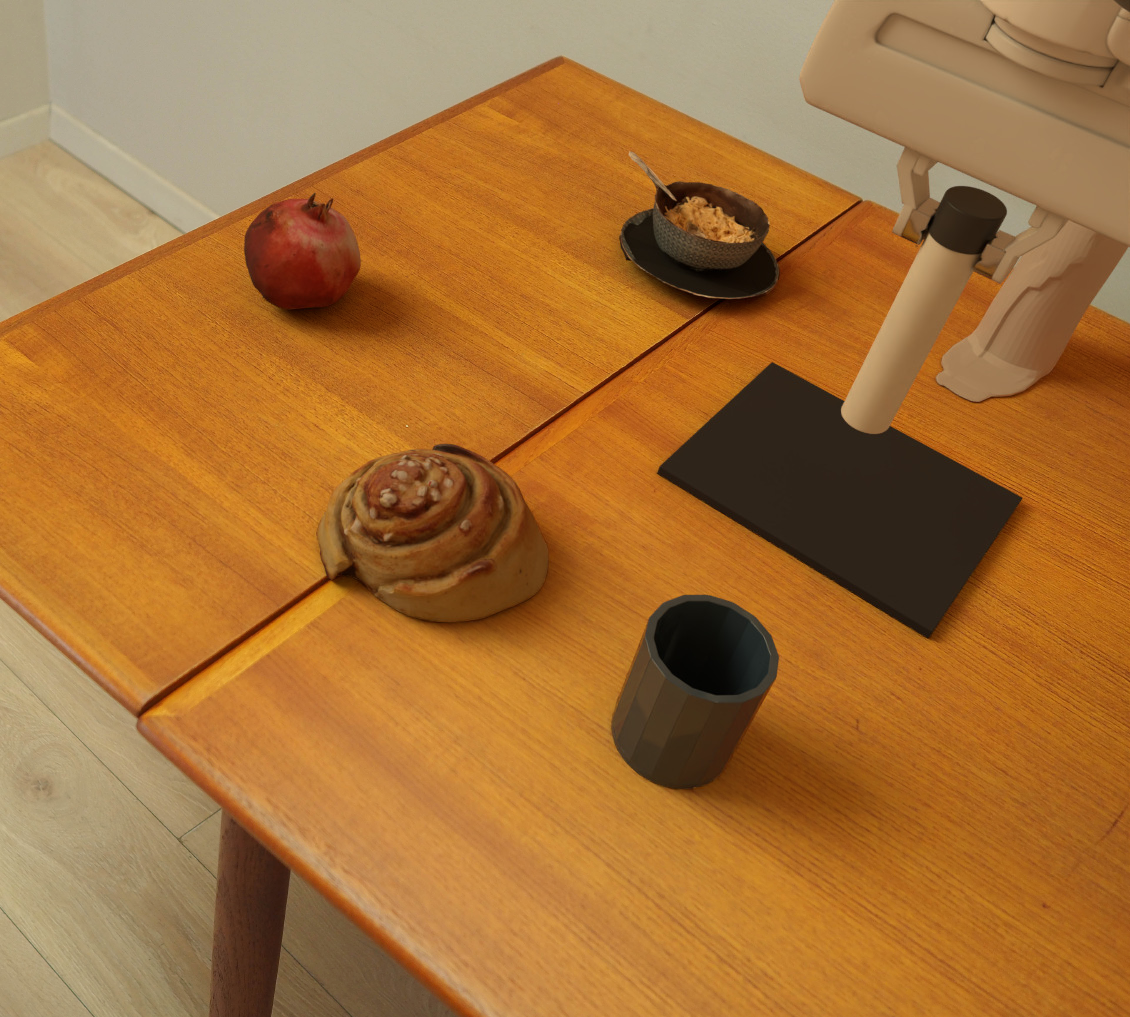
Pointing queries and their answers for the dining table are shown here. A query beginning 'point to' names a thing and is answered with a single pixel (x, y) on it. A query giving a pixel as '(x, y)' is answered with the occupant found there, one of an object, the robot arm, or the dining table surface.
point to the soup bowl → (702, 240)
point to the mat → (845, 496)
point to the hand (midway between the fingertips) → (950, 254)
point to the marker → (923, 305)
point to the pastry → (435, 535)
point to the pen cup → (693, 690)
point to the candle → (1032, 316)
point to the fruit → (301, 254)
